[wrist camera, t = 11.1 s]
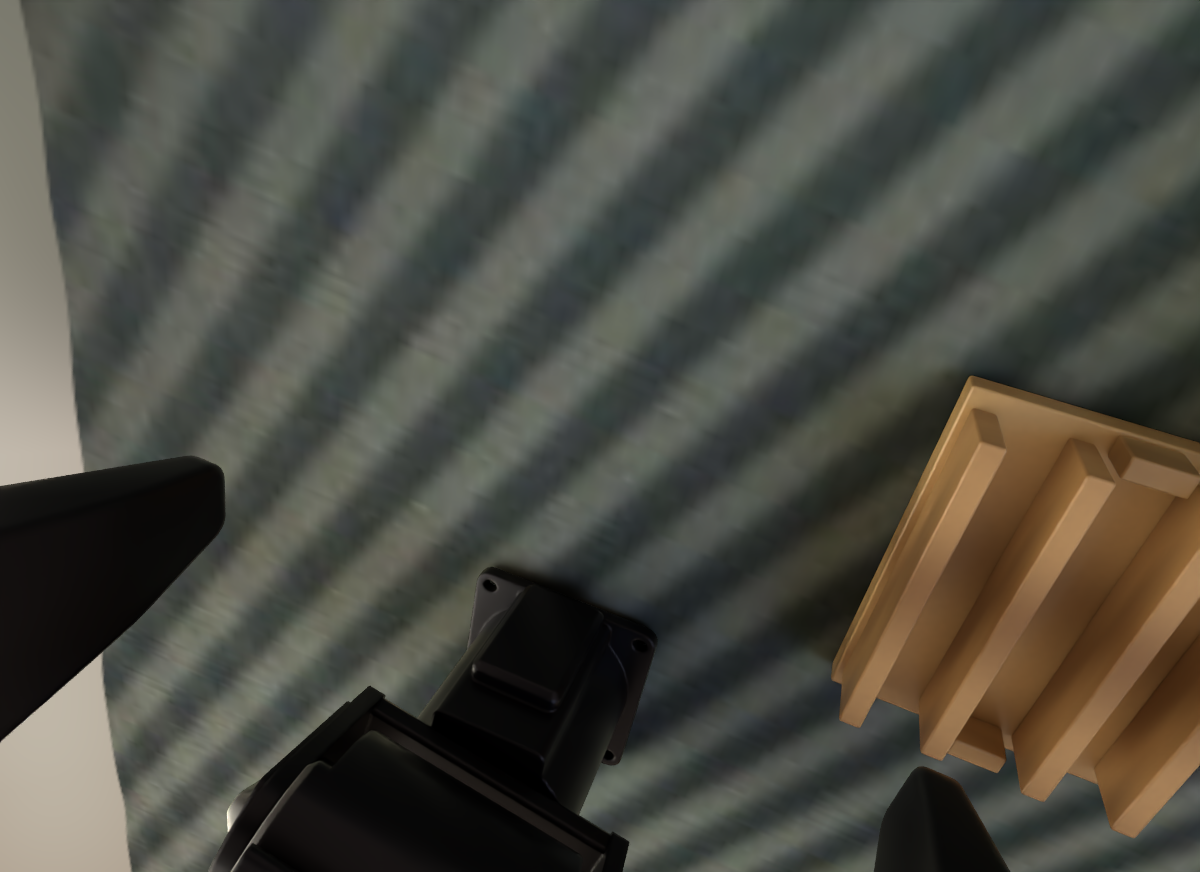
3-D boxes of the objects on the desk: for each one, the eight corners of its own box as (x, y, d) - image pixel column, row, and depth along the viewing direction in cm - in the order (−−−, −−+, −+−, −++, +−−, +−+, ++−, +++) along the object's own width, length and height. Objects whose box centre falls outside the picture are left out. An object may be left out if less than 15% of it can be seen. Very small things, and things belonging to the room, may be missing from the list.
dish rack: (1106, 769, 22) (1132, 855, 19) (831, 663, 23) (825, 729, 21) (1336, 482, 17) (1408, 550, 15) (969, 373, 19) (980, 418, 16)
